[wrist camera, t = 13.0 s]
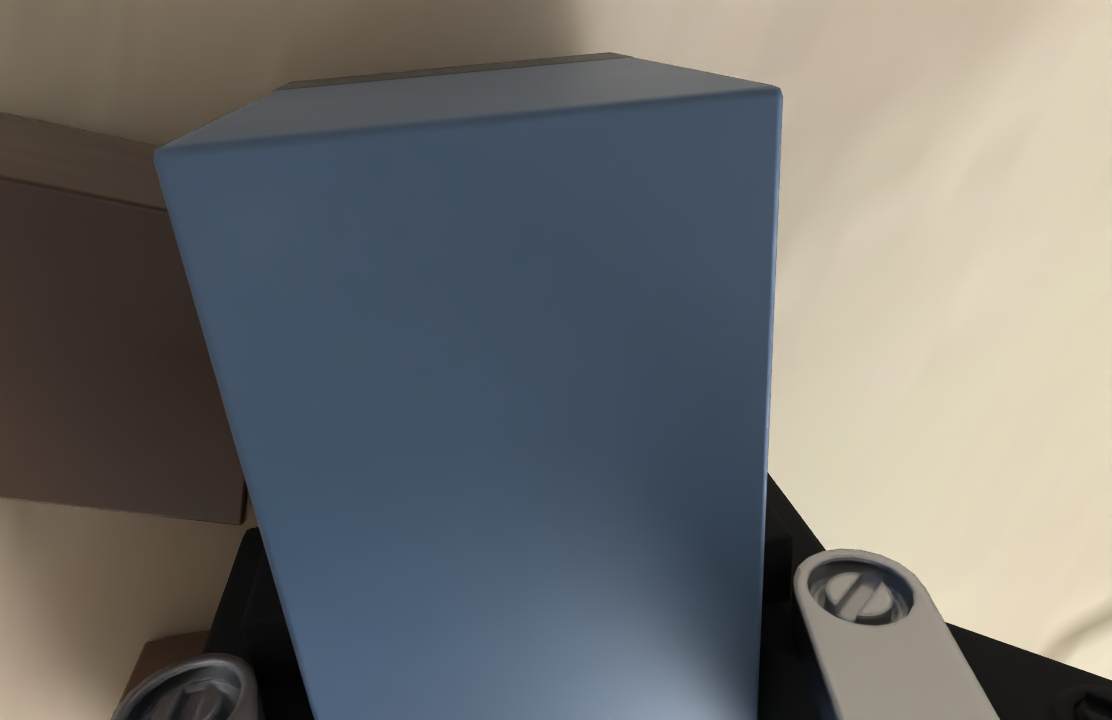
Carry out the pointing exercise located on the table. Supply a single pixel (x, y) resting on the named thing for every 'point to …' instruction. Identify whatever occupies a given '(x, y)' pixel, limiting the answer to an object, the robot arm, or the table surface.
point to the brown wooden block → (103, 337)
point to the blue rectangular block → (499, 379)
